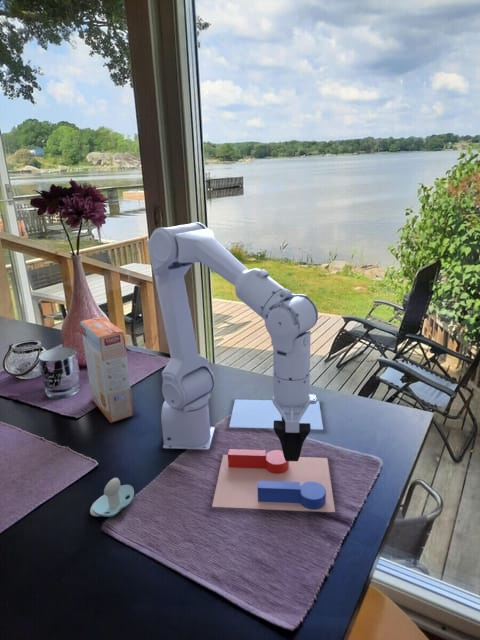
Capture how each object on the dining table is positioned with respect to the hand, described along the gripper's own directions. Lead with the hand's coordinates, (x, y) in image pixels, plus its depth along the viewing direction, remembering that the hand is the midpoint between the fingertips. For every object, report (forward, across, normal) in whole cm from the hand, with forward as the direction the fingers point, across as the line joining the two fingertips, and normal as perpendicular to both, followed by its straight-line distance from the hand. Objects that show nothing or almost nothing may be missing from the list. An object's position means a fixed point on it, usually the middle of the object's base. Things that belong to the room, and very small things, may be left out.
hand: (291, 445), depth 74 cm
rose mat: (+9, +1, +3) cm, 9 cm away
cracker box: (+9, +26, +42) cm, 50 cm away
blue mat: (+9, +24, +3) cm, 25 cm away
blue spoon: (+8, -3, 0) cm, 9 cm away
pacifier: (+9, -6, +30) cm, 32 cm away
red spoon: (+8, +5, +6) cm, 11 cm away
